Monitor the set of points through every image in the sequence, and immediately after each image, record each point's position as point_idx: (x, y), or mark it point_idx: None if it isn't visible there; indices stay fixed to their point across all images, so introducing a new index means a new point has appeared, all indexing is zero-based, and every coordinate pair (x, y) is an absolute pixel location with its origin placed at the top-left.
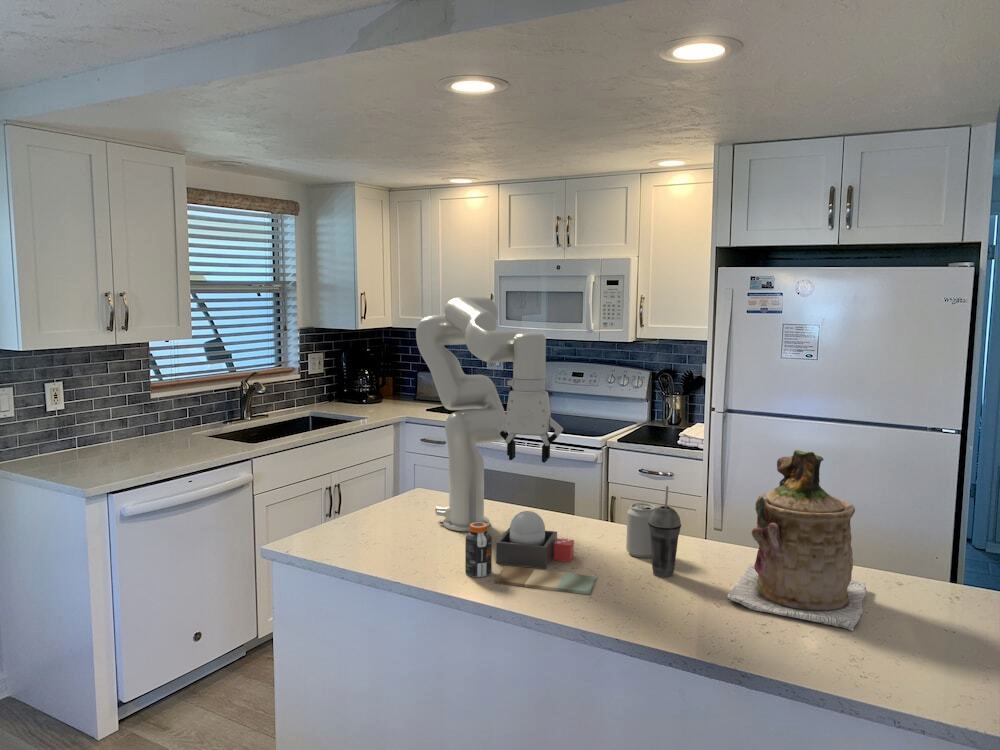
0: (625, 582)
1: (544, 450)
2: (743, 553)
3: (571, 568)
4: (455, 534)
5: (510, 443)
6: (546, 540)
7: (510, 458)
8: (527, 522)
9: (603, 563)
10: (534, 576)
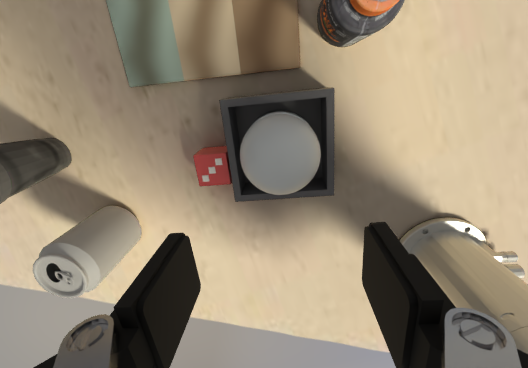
0: (85, 92)
1: (136, 279)
2: (9, 268)
3: (189, 119)
4: (445, 202)
5: (431, 309)
6: (256, 187)
7: (377, 225)
8: (268, 129)
9: (152, 162)
10: (227, 34)
